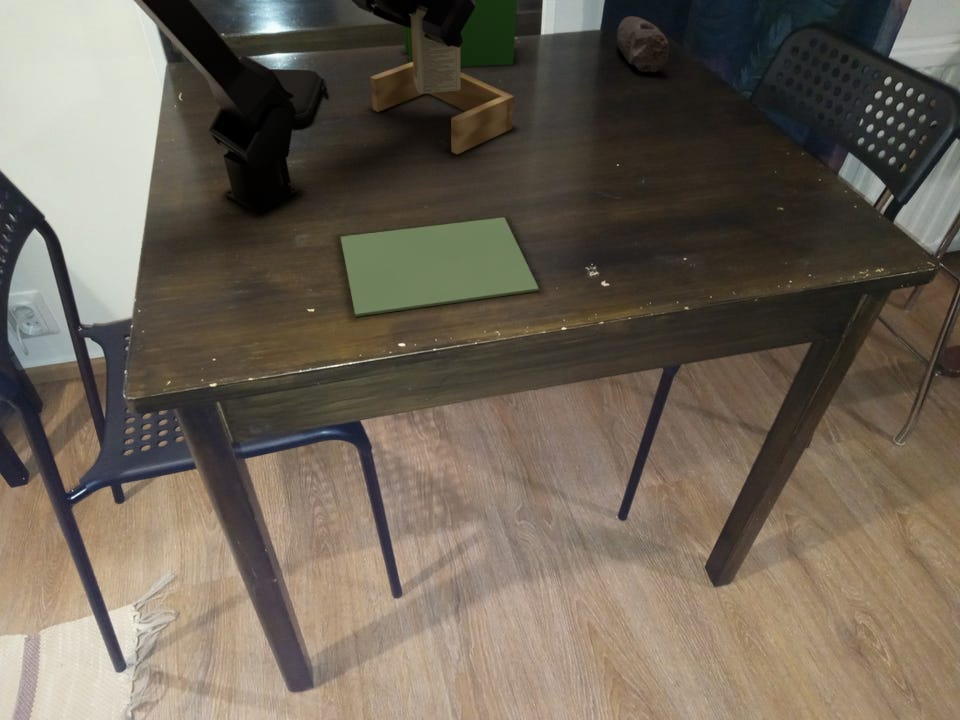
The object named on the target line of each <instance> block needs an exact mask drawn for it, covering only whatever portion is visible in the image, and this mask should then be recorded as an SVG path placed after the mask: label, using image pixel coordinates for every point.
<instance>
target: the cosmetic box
mask: <svg viewBox="0 0 960 720" xmlns="http://www.w3.org/2000/svg"><path fill="white" fill-rule="evenodd" d="M425 14H426V12H424V11H422V10H419V9H417V12H416V14H415V15H414V16H411V34H412V52H413V71H414V83H415V86H416V89H417V91H418V93H419V94H423V95H425V94H429V93H437V92H448V91H457V90H461V75H460V72H461V67H460V47H459V48H458V47H454V46H449V47H448V46H446V45H443V44H441V43H437V42H435V41H433V40H430V39H428V38H426V37H424V35H425V33H424V32H423V31H422V19H423V17H424V15H425Z"/></svg>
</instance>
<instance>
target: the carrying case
mask: <svg viewBox="0 0 960 720" xmlns="http://www.w3.org/2000/svg"><path fill="white" fill-rule="evenodd" d="M269 69H270V70H272V71H273V72H274V74H275V75H276V76H277V78H278V80H279V81H280V83H281V85H282V87H283V88H284V89H285V90H286V91H288V92H289V93H291V94H293V95H294V97H293V98H290V99H289V100H290V101H291V102H292V103H293V105H294V107H295V109H296V116H295V123H294V125H293V126H299V125H304V124H305V123H306V122H307V121H308V120H309V119H310V118H312V117H313V116H312V115H313V113H314V110H315V108H316V106H317V103H318V100H319V97H320V94H321V91H322V90H324V92H325V93H327V91H328V86H327V85H328V84H327V81H326V79H325V78H323V77H322V76H320V75H319V74H318V73H317V72H316V71H314V70H311V69H286V68H285V69H284V68H279V69H278V68H269Z"/></svg>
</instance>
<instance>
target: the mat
mask: <svg viewBox="0 0 960 720" xmlns="http://www.w3.org/2000/svg"><path fill="white" fill-rule="evenodd" d="M340 241H341V242H340V243H341V246H342V247H341V248H342V253H343V254H342V255H343V258H344V259H343V260H344V264H345V269H346V273H347V274H346V275H347V279H348V286H349V290H350V291H349V292H350V295H351V302H352V305H353V306H352V307H353V311H354V317H356V318H357V317H364V316H365V317H366V316H371V315H378V314H379V315H380V314H385V313H392V312H398V311H399V312H400V311H406V310H414V309H421V308H427V307H436V306H443V305H449V304H450V305H451V304H455V303H463V302H470V301H477V300H484V299H491V298H499V297H506V296H512V295H522V294H526V293H534V292H539V289H540V287H539V286H538V283H537V282H536V279H535V277H534V276H533V273H532V272H531V269H530V267H529V265H528V264H527V261H526V259H525V257H524V255H523V253H522V250H521V248H520V246H519V244H518V242H517V240H516V237H515V236H514V234H513V232H512V230H511V228H510V226H509V224H508V222H507V220H506V218H505V216H503V217H495V218H487V219H486V218H485V219H478V220H470V221H462V222H453V223H452V222H451V223H445V224H436V225H427V226H419V227H411V228H403V229H402V228H401V229H394V230H385V231H378V232H376V231H375V232H369V233H361V234H352V235H344V236H340Z"/></svg>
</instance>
